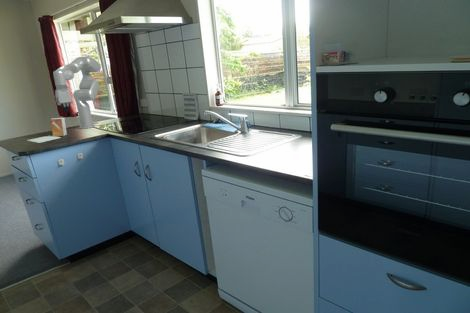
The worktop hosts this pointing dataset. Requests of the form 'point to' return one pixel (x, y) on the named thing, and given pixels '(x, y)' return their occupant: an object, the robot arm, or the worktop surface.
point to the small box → (58, 126)
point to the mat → (43, 139)
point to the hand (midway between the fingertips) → (66, 111)
